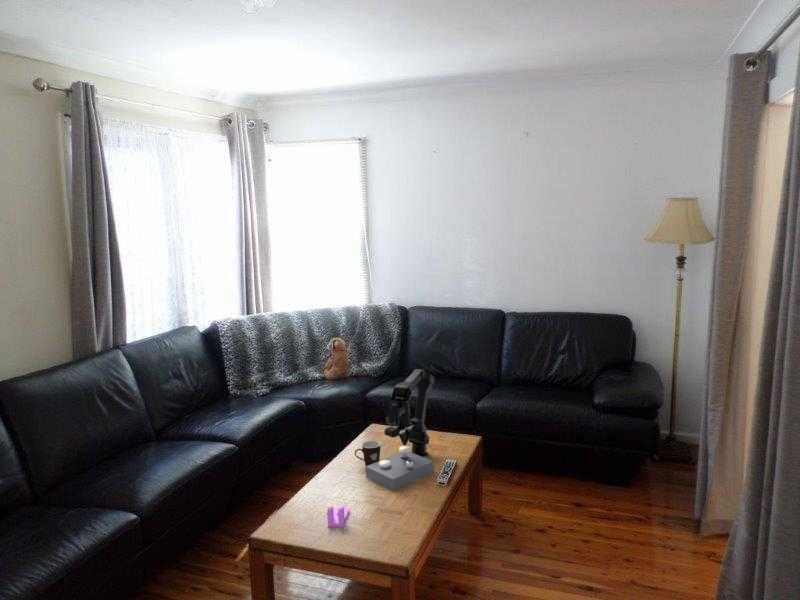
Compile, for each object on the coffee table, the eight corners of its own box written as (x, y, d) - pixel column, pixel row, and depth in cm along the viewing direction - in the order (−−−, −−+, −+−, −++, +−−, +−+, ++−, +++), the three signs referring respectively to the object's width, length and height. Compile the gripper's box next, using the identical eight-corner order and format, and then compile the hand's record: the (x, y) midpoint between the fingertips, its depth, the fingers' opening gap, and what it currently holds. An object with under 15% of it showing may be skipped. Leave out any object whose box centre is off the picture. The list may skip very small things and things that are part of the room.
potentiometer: (409, 466, 256) (409, 456, 255) (414, 468, 254) (414, 458, 253) (404, 468, 254) (404, 458, 253) (409, 470, 252) (409, 460, 251)
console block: (405, 460, 274) (405, 450, 273) (433, 472, 261) (433, 461, 260) (366, 477, 258) (365, 466, 257) (393, 490, 245) (393, 479, 244)
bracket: (342, 527, 218) (341, 510, 217) (327, 526, 219) (326, 509, 218) (350, 509, 231) (349, 493, 229) (336, 509, 231) (335, 492, 230)
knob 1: (385, 467, 261) (385, 458, 260) (393, 471, 257) (393, 462, 256) (376, 471, 257) (376, 462, 257) (384, 475, 253) (384, 466, 253)
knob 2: (405, 453, 268) (404, 445, 268) (413, 457, 264) (412, 448, 264) (396, 457, 265) (396, 448, 264) (404, 460, 261) (404, 451, 260)
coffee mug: (382, 460, 274) (381, 440, 272) (380, 469, 266) (379, 448, 264) (358, 460, 275) (357, 440, 274) (354, 468, 267) (353, 447, 265)
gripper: (406, 403, 273) (407, 434, 276) (375, 413, 261) (377, 446, 264) (422, 408, 265) (424, 441, 268) (392, 419, 253) (393, 453, 255)
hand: (404, 445), depth 264 cm, fingers closed
